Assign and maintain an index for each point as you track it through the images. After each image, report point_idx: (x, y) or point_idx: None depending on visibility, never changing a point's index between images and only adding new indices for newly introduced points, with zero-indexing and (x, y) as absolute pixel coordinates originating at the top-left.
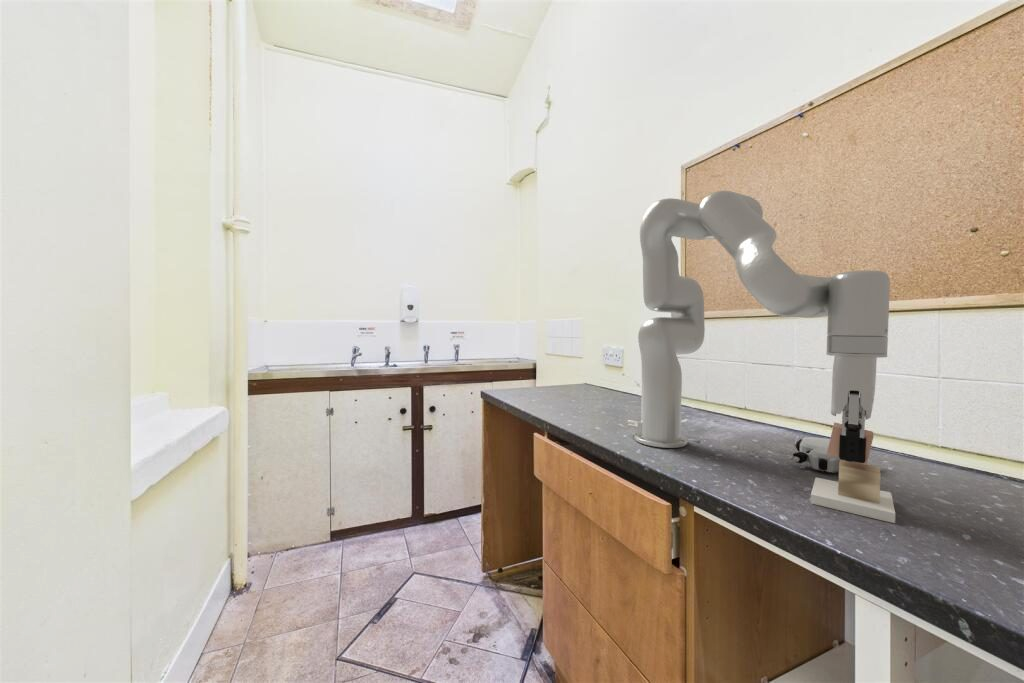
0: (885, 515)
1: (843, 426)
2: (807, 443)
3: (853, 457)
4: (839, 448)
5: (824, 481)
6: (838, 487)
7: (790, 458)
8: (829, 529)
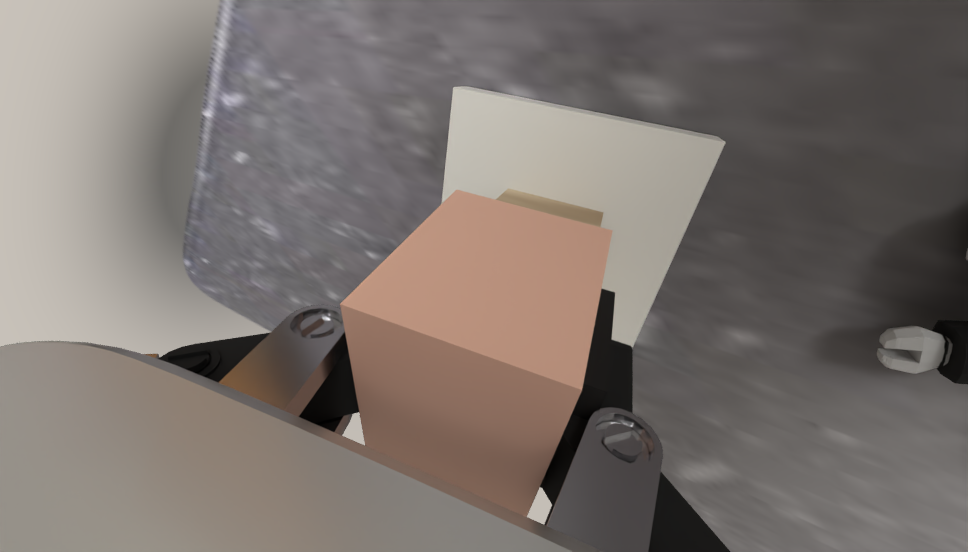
0: None
1: (255, 353)
2: None
3: None
4: None
5: (664, 171)
6: (499, 196)
7: None
8: (301, 114)
